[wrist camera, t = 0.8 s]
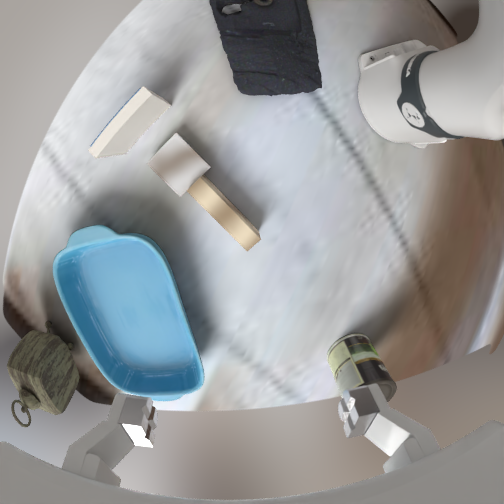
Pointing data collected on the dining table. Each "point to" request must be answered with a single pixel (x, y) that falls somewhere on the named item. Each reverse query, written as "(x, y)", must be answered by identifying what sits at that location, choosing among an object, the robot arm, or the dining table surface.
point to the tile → (129, 124)
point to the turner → (200, 188)
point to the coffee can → (358, 365)
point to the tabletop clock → (43, 373)
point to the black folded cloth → (269, 46)
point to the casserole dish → (128, 312)
